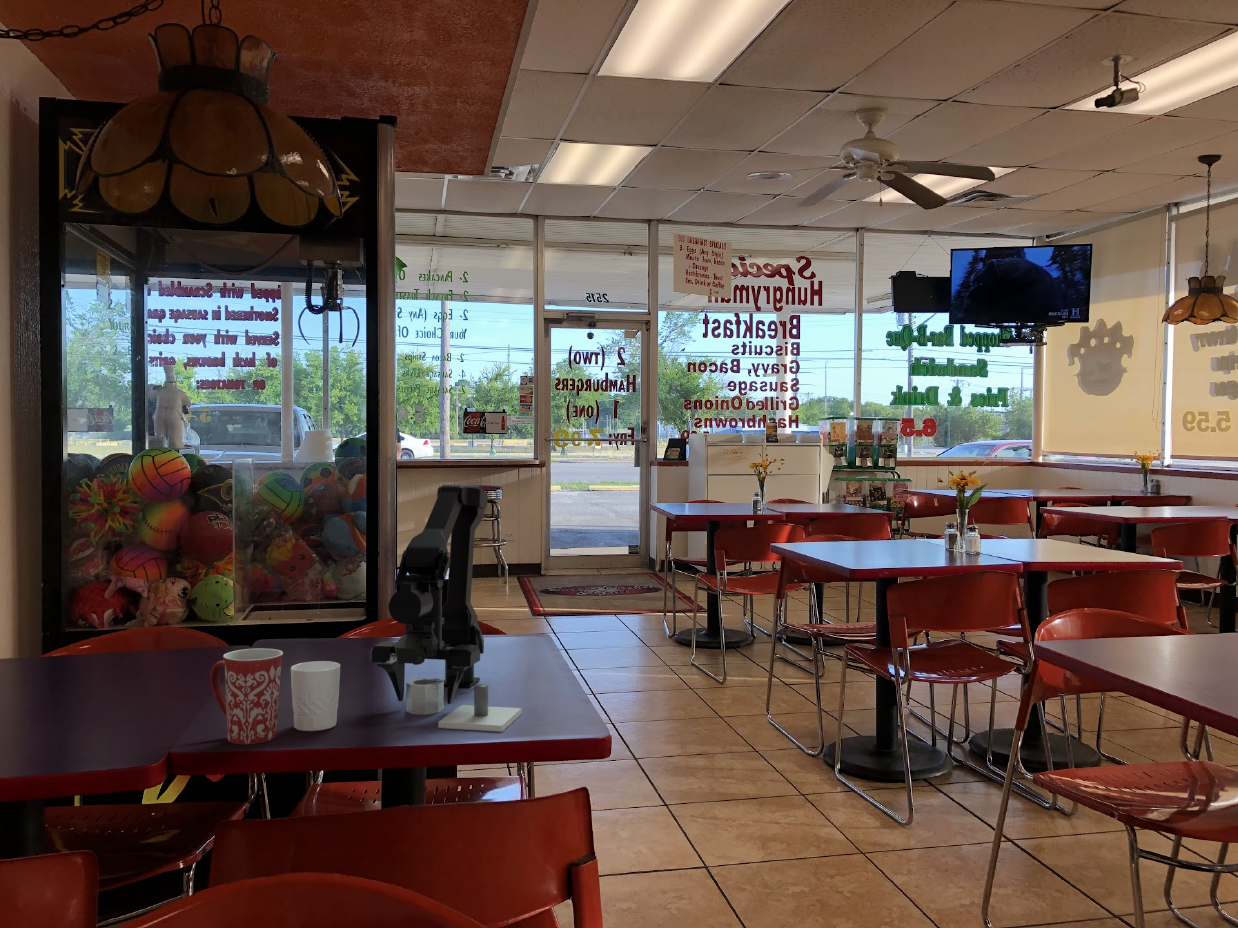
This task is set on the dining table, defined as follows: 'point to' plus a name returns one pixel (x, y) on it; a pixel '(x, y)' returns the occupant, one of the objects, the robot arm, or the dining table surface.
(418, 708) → the grey hollow octagonal cylinder
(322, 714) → the white cup
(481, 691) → the post fixture
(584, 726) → the dining table surface
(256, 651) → the mug
